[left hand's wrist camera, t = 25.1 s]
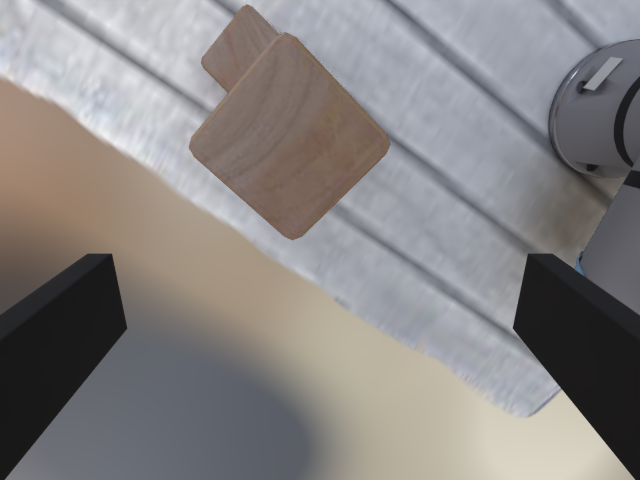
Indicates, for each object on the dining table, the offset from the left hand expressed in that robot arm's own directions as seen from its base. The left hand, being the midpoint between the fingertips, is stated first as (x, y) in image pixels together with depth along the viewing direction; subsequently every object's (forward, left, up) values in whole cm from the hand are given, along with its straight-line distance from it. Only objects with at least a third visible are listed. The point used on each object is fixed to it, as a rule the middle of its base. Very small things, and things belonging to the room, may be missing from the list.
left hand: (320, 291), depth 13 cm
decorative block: (+7, +2, -38) cm, 39 cm away
